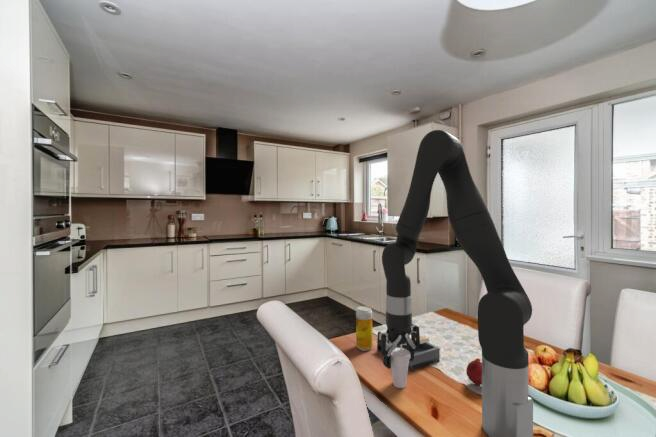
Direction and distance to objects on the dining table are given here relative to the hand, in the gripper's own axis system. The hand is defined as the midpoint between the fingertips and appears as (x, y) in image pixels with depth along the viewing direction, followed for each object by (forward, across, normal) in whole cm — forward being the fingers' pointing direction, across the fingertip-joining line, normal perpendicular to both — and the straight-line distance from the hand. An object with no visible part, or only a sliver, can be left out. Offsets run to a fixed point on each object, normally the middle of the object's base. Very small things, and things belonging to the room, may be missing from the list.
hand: (399, 363), depth 86 cm
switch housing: (+6, +14, +12) cm, 20 cm away
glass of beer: (+6, +4, +24) cm, 26 cm away
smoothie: (+6, 0, 0) cm, 6 cm away
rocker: (+1, +14, +12) cm, 19 cm away
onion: (+6, +20, -11) cm, 24 cm away
